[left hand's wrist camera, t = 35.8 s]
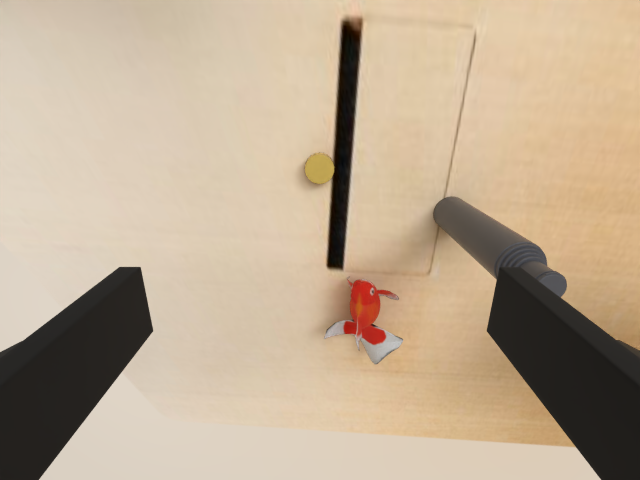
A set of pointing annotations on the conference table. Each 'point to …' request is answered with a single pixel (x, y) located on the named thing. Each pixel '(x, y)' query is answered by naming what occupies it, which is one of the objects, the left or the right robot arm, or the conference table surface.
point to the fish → (367, 321)
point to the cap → (319, 168)
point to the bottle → (494, 243)
